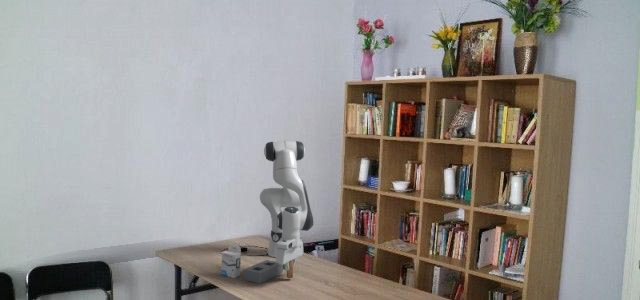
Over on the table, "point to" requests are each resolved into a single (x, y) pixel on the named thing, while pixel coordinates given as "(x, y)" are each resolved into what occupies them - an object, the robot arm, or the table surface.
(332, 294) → the table surface
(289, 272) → the peg
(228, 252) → the ink box
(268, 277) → the hole block
